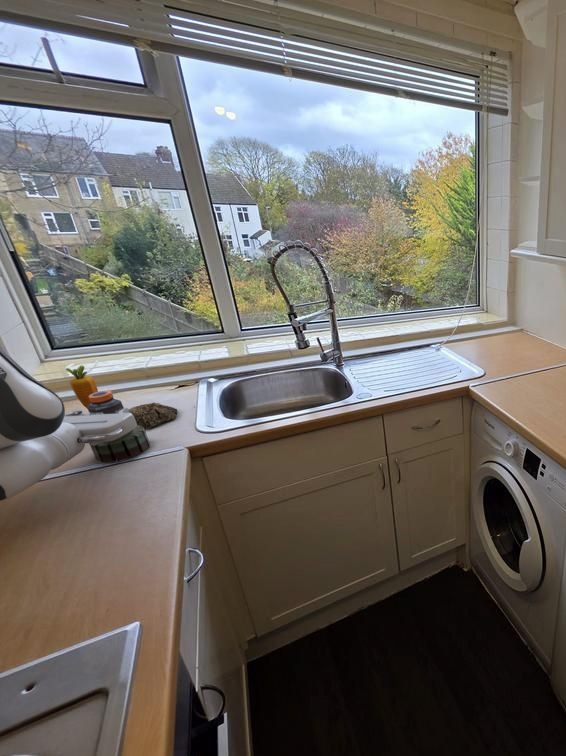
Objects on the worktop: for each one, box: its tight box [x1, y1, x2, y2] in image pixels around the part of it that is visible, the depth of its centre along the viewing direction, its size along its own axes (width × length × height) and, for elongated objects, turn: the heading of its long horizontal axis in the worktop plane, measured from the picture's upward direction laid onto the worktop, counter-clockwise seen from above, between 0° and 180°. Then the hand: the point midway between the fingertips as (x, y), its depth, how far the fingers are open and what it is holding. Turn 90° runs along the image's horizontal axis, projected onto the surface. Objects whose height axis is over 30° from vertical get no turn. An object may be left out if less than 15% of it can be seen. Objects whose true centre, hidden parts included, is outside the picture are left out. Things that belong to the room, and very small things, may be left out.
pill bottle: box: [87, 390, 133, 439], centre depth 98 cm, size 6×6×11 cm
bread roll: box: [128, 402, 179, 429], centre depth 116 cm, size 13×12×5 cm
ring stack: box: [88, 425, 151, 464], centre depth 101 cm, size 10×10×5 cm
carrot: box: [65, 364, 99, 410], centre depth 117 cm, size 5×5×15 cm
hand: (102, 412), depth 96 cm, fingers open, 8 cm apart
